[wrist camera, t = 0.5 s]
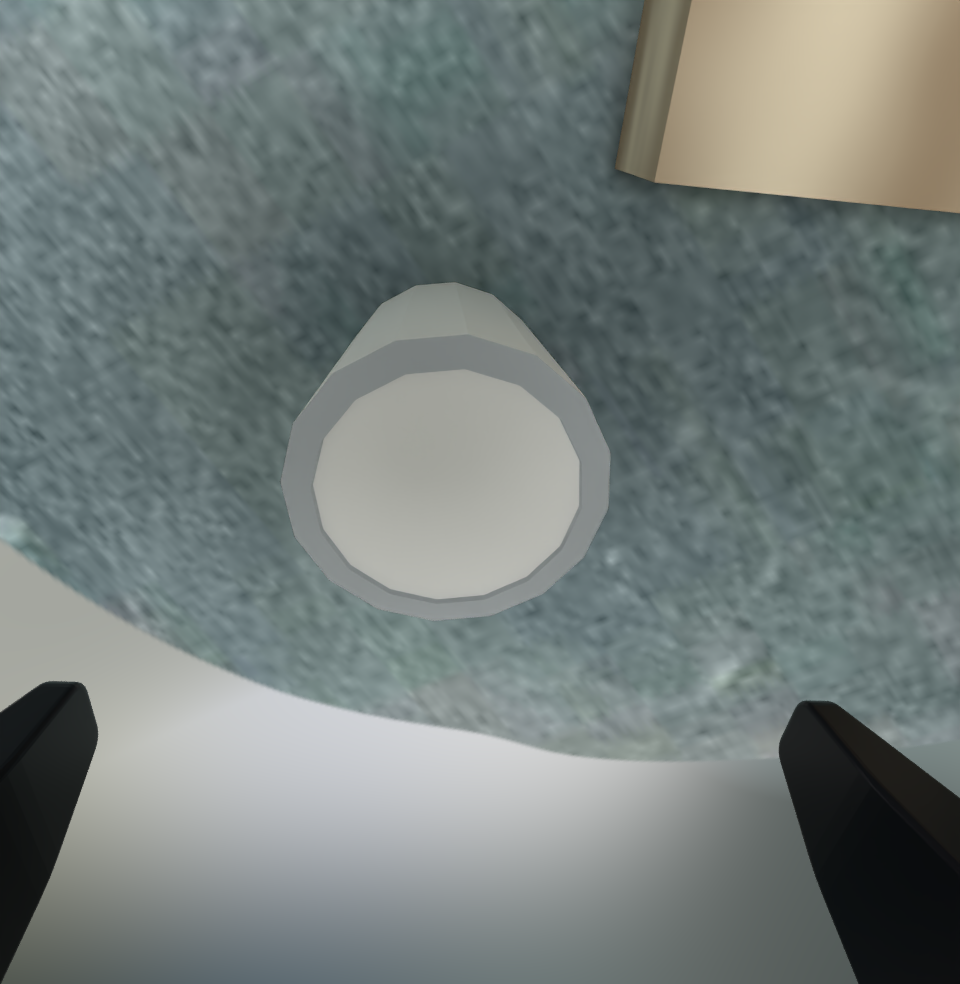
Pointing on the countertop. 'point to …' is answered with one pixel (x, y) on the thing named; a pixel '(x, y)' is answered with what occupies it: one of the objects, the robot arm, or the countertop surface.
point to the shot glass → (446, 461)
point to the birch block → (799, 99)
